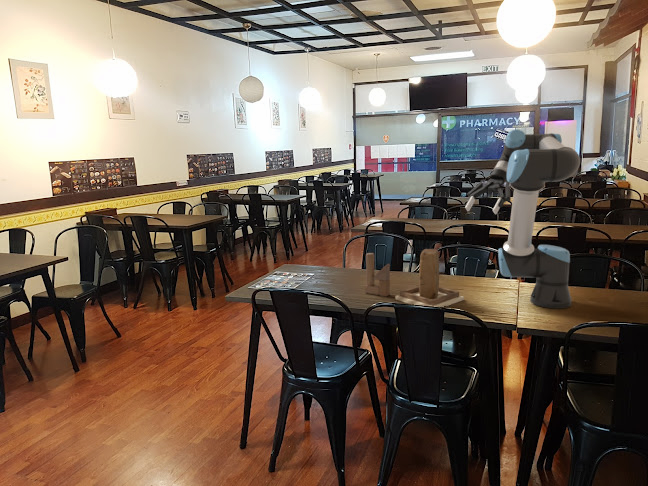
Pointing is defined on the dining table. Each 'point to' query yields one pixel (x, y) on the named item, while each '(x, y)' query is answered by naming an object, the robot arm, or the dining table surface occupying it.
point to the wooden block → (382, 276)
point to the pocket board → (442, 299)
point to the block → (429, 274)
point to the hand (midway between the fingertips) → (480, 210)
